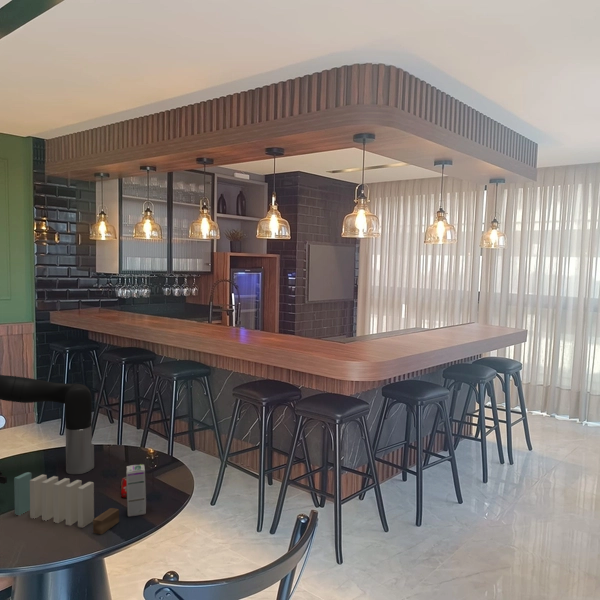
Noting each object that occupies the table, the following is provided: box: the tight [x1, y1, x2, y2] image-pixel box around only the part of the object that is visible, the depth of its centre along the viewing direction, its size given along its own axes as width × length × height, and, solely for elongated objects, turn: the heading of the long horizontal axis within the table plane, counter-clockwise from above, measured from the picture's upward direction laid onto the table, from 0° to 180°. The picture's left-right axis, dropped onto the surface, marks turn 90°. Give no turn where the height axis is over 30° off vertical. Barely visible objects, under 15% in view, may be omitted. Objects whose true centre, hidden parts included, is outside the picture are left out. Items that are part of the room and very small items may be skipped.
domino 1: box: [13, 471, 33, 516], centre depth 161 cm, size 2×5×12 cm, turn 163°
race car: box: [120, 476, 127, 499], centre depth 178 cm, size 13×5×4 cm, turn 19°
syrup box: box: [125, 463, 147, 517], centre depth 162 cm, size 6×6×14 cm
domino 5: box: [65, 479, 83, 526], centre depth 156 cm, size 2×5×12 cm, turn 163°
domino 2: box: [29, 473, 48, 520], centre depth 160 cm, size 2×5×12 cm, turn 163°
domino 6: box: [77, 481, 95, 528], centre depth 154 cm, size 2×5×12 cm, turn 163°
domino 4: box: [53, 477, 71, 524], centre depth 157 cm, size 2×5×12 cm, turn 163°
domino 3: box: [41, 475, 59, 522], centre depth 158 cm, size 2×5×12 cm, turn 163°
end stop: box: [92, 507, 120, 535], centre depth 152 cm, size 3×8×4 cm, turn 163°
